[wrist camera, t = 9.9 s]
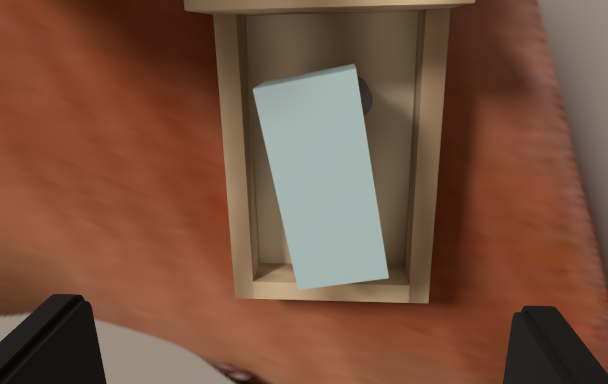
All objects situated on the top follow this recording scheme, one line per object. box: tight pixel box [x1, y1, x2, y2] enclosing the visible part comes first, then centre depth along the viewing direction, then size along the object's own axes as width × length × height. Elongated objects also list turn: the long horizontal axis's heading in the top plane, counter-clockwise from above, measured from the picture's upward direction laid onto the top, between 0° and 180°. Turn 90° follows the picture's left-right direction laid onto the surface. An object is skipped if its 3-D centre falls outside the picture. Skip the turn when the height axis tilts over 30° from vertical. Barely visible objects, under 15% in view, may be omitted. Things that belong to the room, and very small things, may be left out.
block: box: [253, 64, 389, 290], centre depth 23 cm, size 10×4×4 cm, turn 11°
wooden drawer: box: [184, 0, 475, 303], centre depth 25 cm, size 12×18×8 cm, turn 1°
